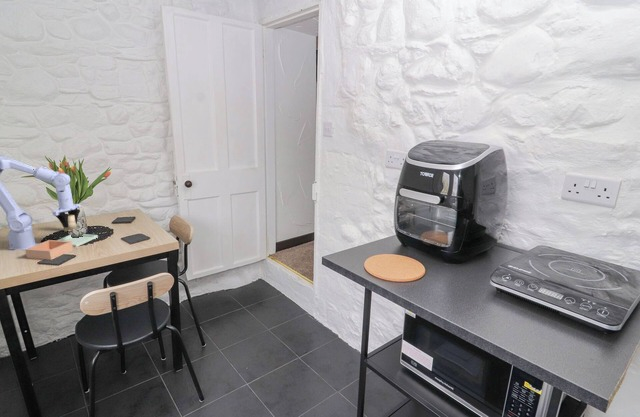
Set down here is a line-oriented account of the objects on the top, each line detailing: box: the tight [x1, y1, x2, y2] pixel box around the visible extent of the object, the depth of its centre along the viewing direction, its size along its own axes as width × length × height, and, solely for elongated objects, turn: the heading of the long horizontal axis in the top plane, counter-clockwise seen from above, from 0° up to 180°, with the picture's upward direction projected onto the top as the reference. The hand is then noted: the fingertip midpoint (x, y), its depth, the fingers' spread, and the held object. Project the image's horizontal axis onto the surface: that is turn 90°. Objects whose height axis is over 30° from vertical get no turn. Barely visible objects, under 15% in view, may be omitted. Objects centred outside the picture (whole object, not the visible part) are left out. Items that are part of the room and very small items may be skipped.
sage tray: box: [56, 233, 99, 248], centre depth 175 cm, size 14×14×2 cm
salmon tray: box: [24, 239, 74, 261], centre depth 159 cm, size 12×12×4 cm
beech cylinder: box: [65, 215, 77, 231], centre depth 172 cm, size 5×5×6 cm
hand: (70, 225), depth 172 cm, fingers closed on beech cylinder, 5 cm apart
